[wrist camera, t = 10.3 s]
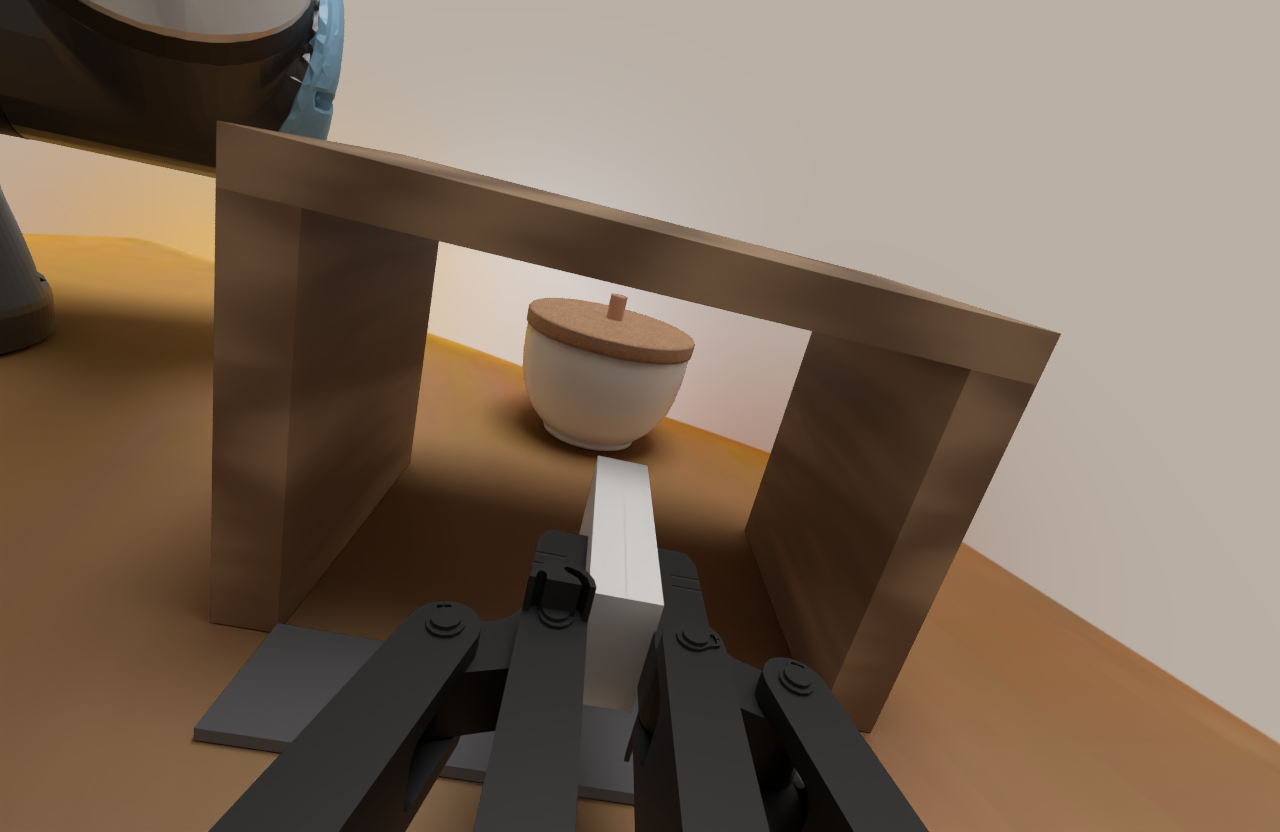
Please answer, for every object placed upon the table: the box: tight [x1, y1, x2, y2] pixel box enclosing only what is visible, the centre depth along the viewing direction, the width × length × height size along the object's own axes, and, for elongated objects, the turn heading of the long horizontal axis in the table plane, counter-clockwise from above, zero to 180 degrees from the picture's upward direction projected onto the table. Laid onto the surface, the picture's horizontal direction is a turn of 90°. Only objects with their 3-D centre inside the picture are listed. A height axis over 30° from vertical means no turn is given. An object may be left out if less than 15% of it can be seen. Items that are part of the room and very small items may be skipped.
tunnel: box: [210, 121, 1061, 733], centre depth 24 cm, size 22×13×14 cm, turn 92°
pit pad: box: [194, 623, 802, 805], centre depth 18 cm, size 18×4×1 cm, turn 92°
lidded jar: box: [523, 294, 695, 451], centre depth 40 cm, size 11×11×9 cm
